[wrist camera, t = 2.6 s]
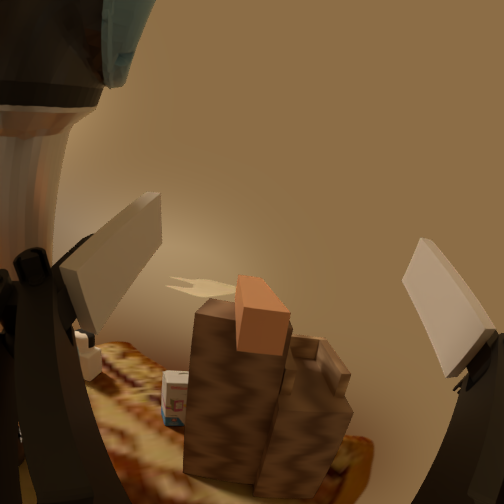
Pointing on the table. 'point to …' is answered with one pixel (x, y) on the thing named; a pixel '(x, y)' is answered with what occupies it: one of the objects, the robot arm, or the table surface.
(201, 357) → the brown stepped wooden block
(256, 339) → the block
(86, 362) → the medicine bottle
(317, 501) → the table surface
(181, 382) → the ink box
